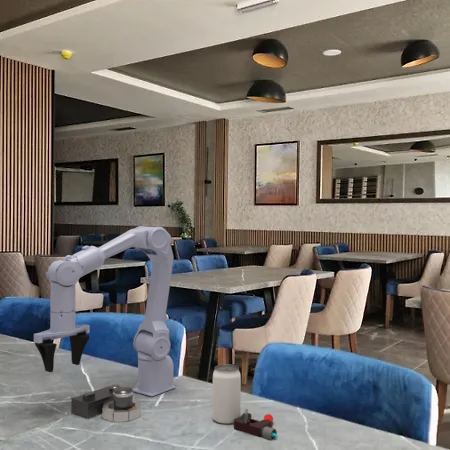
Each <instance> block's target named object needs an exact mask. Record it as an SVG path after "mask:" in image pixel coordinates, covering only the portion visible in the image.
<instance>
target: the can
mask: <svg viewBox="0 0 450 450" xmlns="http://www.w3.org/2000/svg"><path fill="white" fill-rule="evenodd" d="M239 369H240V367H239V366H238V365H234V364H226V363H225V364H218V365H215V366H214V370H213V374H212V401H211V403H212V410H211V411H212V420H213V421H214V422H215V423H217V424H220V425H234V419H235V418H236V419H237V418H239V417H241V398H242V397H241V389H242V388H241V387H242V385H241V379H242V377H241V376H242V375H241V372H240V370H239Z"/></svg>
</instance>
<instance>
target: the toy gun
mask: <svg viewBox="0 0 450 450" xmlns="http://www.w3.org/2000/svg"><path fill="white" fill-rule="evenodd" d="M248 411H249V410H248V409H245V411H244V412H243V413H242V415H240V417H239V418H237V419H236V418H235V419H234V423H233V430H234V431H237V432H242V433H244V434H248V435H251V436H253V437H254V436H255V437H258V438H260V437H262V438H263V439H265V440H270V441H273V439H272V438H274V439H275V438H276V437H278V434H277V432H278V431H277V429H276V428H273V427H272V424H273V421H274V416H272V414H270V413H266V414H265V415H264V417H263V419H261V420H257V419H255V418H252V414H251V413H249V412H248Z"/></svg>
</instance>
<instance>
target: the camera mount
mask: <svg viewBox="0 0 450 450" xmlns="http://www.w3.org/2000/svg"><path fill="white" fill-rule="evenodd" d="M119 387H121V385H120V384H110V385H109V386H105V387H103V388H99V389H96V390H93V391H89V392H86V393H85V392H84V393H83V394H80V395H77V396H74V397H71V408H70V409H71V410H70V412H71V413H72V414H73V415H76V416H79V417H82V418H84V417H85V419H87V418H88V419H91V418H94V417H97V416H99V415H102V419H104V420H105V421H109V422H111V423H118V422H119V423H120V422H121V423H123V422H124V423H125V422H130V421H133V420H136V419H138V418H140V417H141V401H138V400H135V399H133V407H132V408H131V409H128V410H114V396H113V391H114V389H116V388H119ZM96 415H97V416H96ZM93 416H94V417H93ZM90 417H91V418H90Z"/></svg>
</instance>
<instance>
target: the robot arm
mask: <svg viewBox="0 0 450 450" xmlns="http://www.w3.org/2000/svg"><path fill="white" fill-rule="evenodd" d="M171 241H172V236H171V235H170V233H169V232H168V230H166V229H165V228H164V227H163V226H145V225H139V226H137V227H135V228H131V229H129V230H127V231H125V232H124V233H122V234H121V235H119V236H117V237H115V238H113V239H111V240H110V241H108V242H106V243H104V244H103V245H101V246H98V247H96V246H94V245H90V246H89V245H85V246H82V247H81V250H80V251H78V252H75V253H74V254H72V255H70V254H68V255H65V257H64V258H65V259H64V260H60V259H59V260H58V259H57V260H55V261H53V262H52V263H51V264H50V265H49V267H48V269H47V271H46V272H45V273H46V278H47V280H48V281H49V282H50V293H49V294H50V304H49V305H50V309H49V311H50V317H49V318H50V326H49V327H50V328H49V329H47V330H44V331H41V332H37V333H33V343H34V345H35V347H36V348H37V351H38V353H39V354H40V357H41V359H42V363H43V366H44V370H45V372H48V373H53V372H54V369H55V368H54V364H55V362H54V361H55V352H56V348H57V345H58V344H57V343H53V340H58V339H61V338H62V339H63V338H67V337H68V339H69V343H70V350H71V353H70V356H71V364H73V365H75V366H79V365H80V364H81V360H82V356H83V353H84V350H85V347H86V345H87V343H88V342H89V340H90V335H89V333H90V329H91V327H90V326H91V325H90V324H85V323H84V324H77V325H76V284H77V283H78V282H79V280H80V278H82V277H83V276H85V275H87V274H90V273H91V272H94V271H96V270H97V269H100V268H101V267H103V265H104V263H105V261H106V259H108V258H110V257H113V256H115V255H117V254H119V253H121V252H124V251H126V250H128V249H130V248H136V249H138V250H140V251H141V252H142V253H144V254H146V257H148V259H149V260H150V261H151V262H152V264H151V265H152V266H151V272H150V279H149V285H148V292H147V299H146V304H145V305H146V307H145V312H144V313H145V314H144V319H143V321H142V322H141V323H140V324H139V325H138V329H137V332H136V334H135V336H134V338H133V347H134V349H135V351H136V352H137V386H135V387H133V388H132V387H131V388H132V389H133V393H138V394H142V395H144V396H149V397H154V396H157V395H160V394H163V393H165V392H168V391H171V390H174V389H176V385H174V361H173V359H172V358H171V356H170V355H169V353H170V350H171V341H170V330H169V328H168V326H167V324H166V315H167V308H168V301H169V293H170V287H171V279H172V273H173V266H174V253H173V249H172V245H171Z"/></svg>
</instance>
